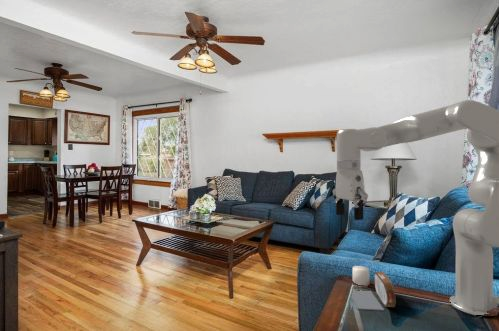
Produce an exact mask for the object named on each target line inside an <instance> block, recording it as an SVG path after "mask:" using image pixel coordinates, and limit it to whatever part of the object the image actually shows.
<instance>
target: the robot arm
mask: <svg viewBox="0 0 499 331" xmlns="http://www.w3.org/2000/svg"><path fill="white" fill-rule="evenodd" d="M466 129H467V131H466V132H467V133H466V139H467V141H468V142H469V144H470V145H471V146H472V147H473V149H474V151H475V152H476V154H477V164H476V169H475V171H474V174H473V176H472V179H471V183H470V185H469V188H468V191H467V196H468V199H469V200H470V202H472V204H474V205H478V206H480V207H484V209H483V210H481V209H477V208H463V209H460V210H458V212H456V213H455V215H454V217H453V219H452V229H453V234H454V241H455V242H454V243H455V290H454V291H455V293H454V294H455V295H452V296H450V297H449V303H450V302H451V303H450V305H451V304H452V305H451V306H452V307H454V308H455V309H456V310H459V311H461V312H464V313H466V314H469V315H472V316H476V315H484V314H489V313H487V311H489V310H491V309H492V308H498V306H499V296H498V295H494V294H493V293H494V252H493V248H499V110H498V109H496V108H493V107H491V106H489V105H487V104H485V103H482V102H480V101H478V100H477V101H476V100H472V99H467V100H466V99H465V100H461V101H460V102H456V103H453V104H450V105H449V104H448V105H446V106H442V107H439V108H436V109H432V110H428V111H424V112H420V113H417V114H413V115H409V116H407V117H405V118H401V119H399V120H397V121H395V122H391V123H388V124H385V125H382V126H376V127H375V126H374V127H367V128H358V129H357V128H343V129H339V130H338V131H337V132H336V175H335V188H333V189H332V195H333V199H334V203H335V214H336V215H337V216H341V215H343V216H344V215H345V214H346V213H345V212H346V210H345V209H346V208H345V206H346V205H345V203H344V202H345V201H350V202H352V203H353V205H354V207H353V220H354V221H360V220H361V221H362V220H364V208H365V207H366V205H367V200H368V197H369V194H368V193H367V192H366V191H365V188H366V187H365V180H364V179H365V178H364V174H363V170H362V168H361V166H362V164H361V158H362V157H361V151H363V152H373V151H375V152H376V151H378V150H381V149H383V148H386V147H391V146H394V145H399V144H407V143H413V142H417V141H418V142H419V141H422V140H427V139H430V138H434V137H439V136H441V135H445V134H450V133H452V132H453V133H454V132H457V131H461V130H466Z"/></svg>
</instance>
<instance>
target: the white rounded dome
mask: <svg viewBox="0 0 499 331" xmlns="http://www.w3.org/2000/svg"><path fill="white" fill-rule="evenodd" d="M351 281H353V282H354V283H356V284H358V285H365V286H366V285H369V286H370V268H369V267H367V266H364V265H354V266H352V280H351Z"/></svg>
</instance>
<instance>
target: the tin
mask: <svg viewBox="0 0 499 331" xmlns="http://www.w3.org/2000/svg"><path fill="white" fill-rule="evenodd" d="M373 275H374V276H373V277H374V288H375V292H376V295H377V296H378V298H379V299H380V301H381V303H382V304H383V306H384V307H386V308H395V307H396V304H397V303H396V292H395V287H394V285H393V283H392V281H391V280H390V279H389V277H388V276H387V274H386V273H385V272H384V271H376V272H374V274H373Z"/></svg>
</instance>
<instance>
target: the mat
mask: <svg viewBox="0 0 499 331" xmlns="http://www.w3.org/2000/svg"><path fill="white" fill-rule="evenodd" d="M355 290H356V291H354V292H353V293H352V294H351V295H352V296H351V295H350V298H351V300H352V301H353V303H354V304H355V306H356V308H357V310H361V311H365V310H366V311H383V312H384V311H385V309H384V307H383V306H382V304H381V303H380V302H379V300H378V299H377V298H376V296H375V295H374V293H373V292H372V290H370V291H362V290H363V289H359V290H360V291H357V290H358V289H355Z"/></svg>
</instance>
